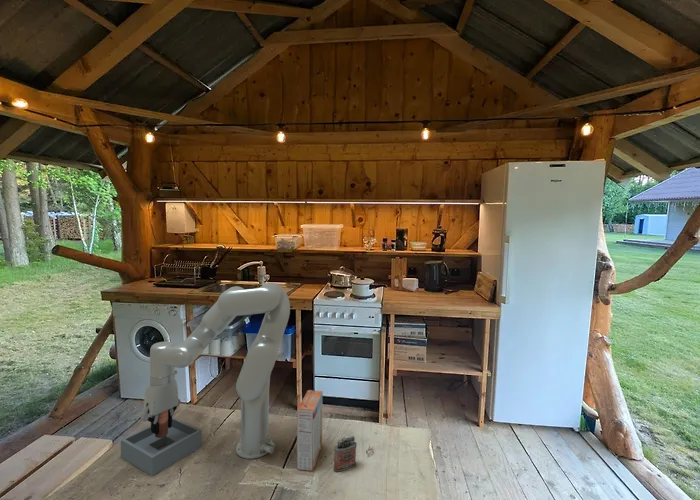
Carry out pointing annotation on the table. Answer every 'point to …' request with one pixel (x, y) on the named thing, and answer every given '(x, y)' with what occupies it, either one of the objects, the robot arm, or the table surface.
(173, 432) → the tray
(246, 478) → the table surface
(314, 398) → the cracker box
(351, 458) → the lighter
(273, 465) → the table surface
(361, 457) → the table surface
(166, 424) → the peg
